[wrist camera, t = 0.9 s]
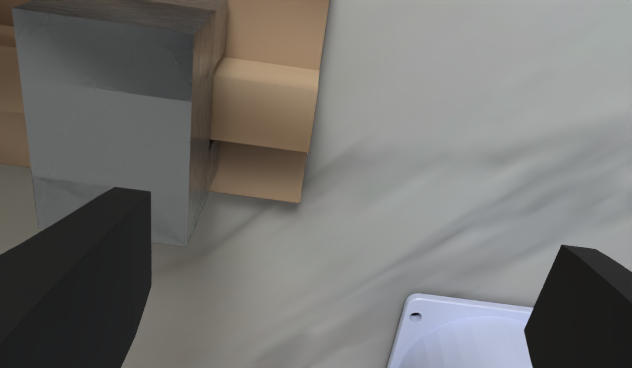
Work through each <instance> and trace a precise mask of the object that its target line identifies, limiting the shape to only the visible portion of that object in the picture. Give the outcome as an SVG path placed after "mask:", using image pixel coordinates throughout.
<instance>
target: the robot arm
mask: <svg viewBox="0 0 632 368" xmlns="http://www.w3.org/2000/svg"><path fill="white" fill-rule="evenodd" d="M150 289H151V191H144V190H136V189H129V188H121V187H113V188H112V189H110V190H108V191H106V192H104V193H103V194H101V195H99V196H98V197H96V198H95V199H93V200H91V201H90V202H88V203H86V204H85V205H83V206H82V207H80V208H79V209H77V210H75V211H74V212H72V213H71V214H69V215H67V216H66V217H64V218H63V219H61V220H59V221H58V222H56V223H54V224H53V225H51V226H49V227H48V228H46V229H44V230H43V231H41V232H39V233H38V234H36V235H34V236H33V237H31V238H29V239H28V240H26V241H25V242H23V243H21V244H19V245H18V246H16V247H14V248H12V249H10V250H8V251H7V252H5V253H3V254H1V255H0V368H121V366H122V364H123V362H124V359H125V357H126V355H127V353H128V351H129V349H130V346H131V344H132V342H133V340H134V338H135V335H136V332H137V329H138V326H139V323H140V320H141V317H142V314H143V311H144V308H145V305H146V301H147V298H148V295H149V292H150ZM412 313H419V314H418V315H416V316H412V315H411V314H412ZM387 368H632V272H631V271H629V270H628V269H626V268H625V267H623V266H622V265H620V264H619V263H617V262H616V261H614V260H613V259H611V258H610V257H608V256H606V255H605V254H603V253H601V252H599V251H598V250H596V249H591V248H583V247H575V246H568V245H561V247H560V250H559V252H558V254H557V256H556V259H555V261H554V263H553V265H552V268H551V270H550V272H549V274H548V277H547V279H546V281H545V283H544V286H543V288H542V290H541V292H540V295H539V297H538V299H537V301H536V304H535V306H534V308H531V307H523V306H515V305H507V304H499V303H491V302H483V301H475V300H467V299H460V298H452V297H444V296H436V295H428V294H420V293H419V294H413V295H410V296H409V297H408V298H407V299H406V301H405V305H404V308H403V312H402V315H401V319H400V322H399V326H398V329H397V333H396V337H395V340H394V344H393V347H392V351H391V354H390V358H389V362H388V365H387Z"/></svg>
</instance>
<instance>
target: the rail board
mask: <svg viewBox="0 0 632 368" xmlns="http://www.w3.org/2000/svg"><path fill="white" fill-rule="evenodd" d="M29 1H32V0H0V163H1V164H8V165H16V166H23V167H31V163H30V155H29V147H28V139H27V130H26V122H25V114H24V106H23V97H22V89H21V81H20V73H19V65H18V56H17V48H16V40H15V32H14V23H13V15H12V8H13V7H16V6H18V5H21V4H24V3H26V2H29ZM328 7H329V0H228V13H227V29H226V46H225V52H224V53H223V55H222V56H221V58H220V59H219V61H218V62H217V64H216V65H215V67H214V68H213V81H212V101H211V120H210V139H213V140H220V144H219V160H218V170H217V173H216V175H215V178H214V180H213V183H212V185H211V188H210V190H209V191H212V192H219V193H227V194H235V195H242V196H250V197H257V198H265V199H272V200H280V201H287V202H295V203H300V199H301V192H302V185H303V178H304V171H305V164H306V158H307V152H308V153H309V148H310V141H311V134H312V128H313V121H314V114H315V107H316V100H317V94H318V82H319V68H320V62H321V55H322V48H323V41H324V34H325V27H326V20H327V14H328Z"/></svg>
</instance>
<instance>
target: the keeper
mask: <svg viewBox="0 0 632 368" xmlns="http://www.w3.org/2000/svg"><path fill="white" fill-rule="evenodd" d="M227 13H228V0H32V1H29V2H26V3H24V4H21V5H18V6H16V7H13V8H12V15H13V23H14V32H15V40H16V48H17V56H18V65H19V73H20V81H21V89H22V97H23V106H24V114H25V122H26V130H27V139H28V147H29V155H30V163H31V172H32V180H33V188H34V196H35V205H36V213H37V221H38V228H43V229H46V228H48V227H49V226H51V225H53V224H54V223H56V222H58V221H59V220H61V219H63V218H64V217H66V216H67V215H69V214H71V213H72V212H74V211H75V210H77V209H79V208H80V207H82V206H83V205H85V204H86V203H88V202H90V201H91V200H93V199H95V198H96V197H98V196H99V195H101V194H103V193H104V192H106V191H108V190H110V189H112V188H113V187H121V188H129V189H136V190H144V191H151V242H153V243H160V244H168V245H176V246H184V247H187V245H188V243H189V240H190V238H191V235H192V233H193V230H194V228H195V225H196V223H197V220H198V218H199V215H200V213H201V210H202V208H203V205H204V203H205V200H206V198H207V195H208V193H209V190H210V188H211V185H212V183H213V180H214V178H215V175H216V173H217V170H218V160H219V144H220V140H213V139H210V120H211V101H212V81H213V68H214V67H215V65H216V64H217V62H218V61H219V59H220V58H221V56H222V55H223V53H224V52H225V46H226V29H227Z"/></svg>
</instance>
